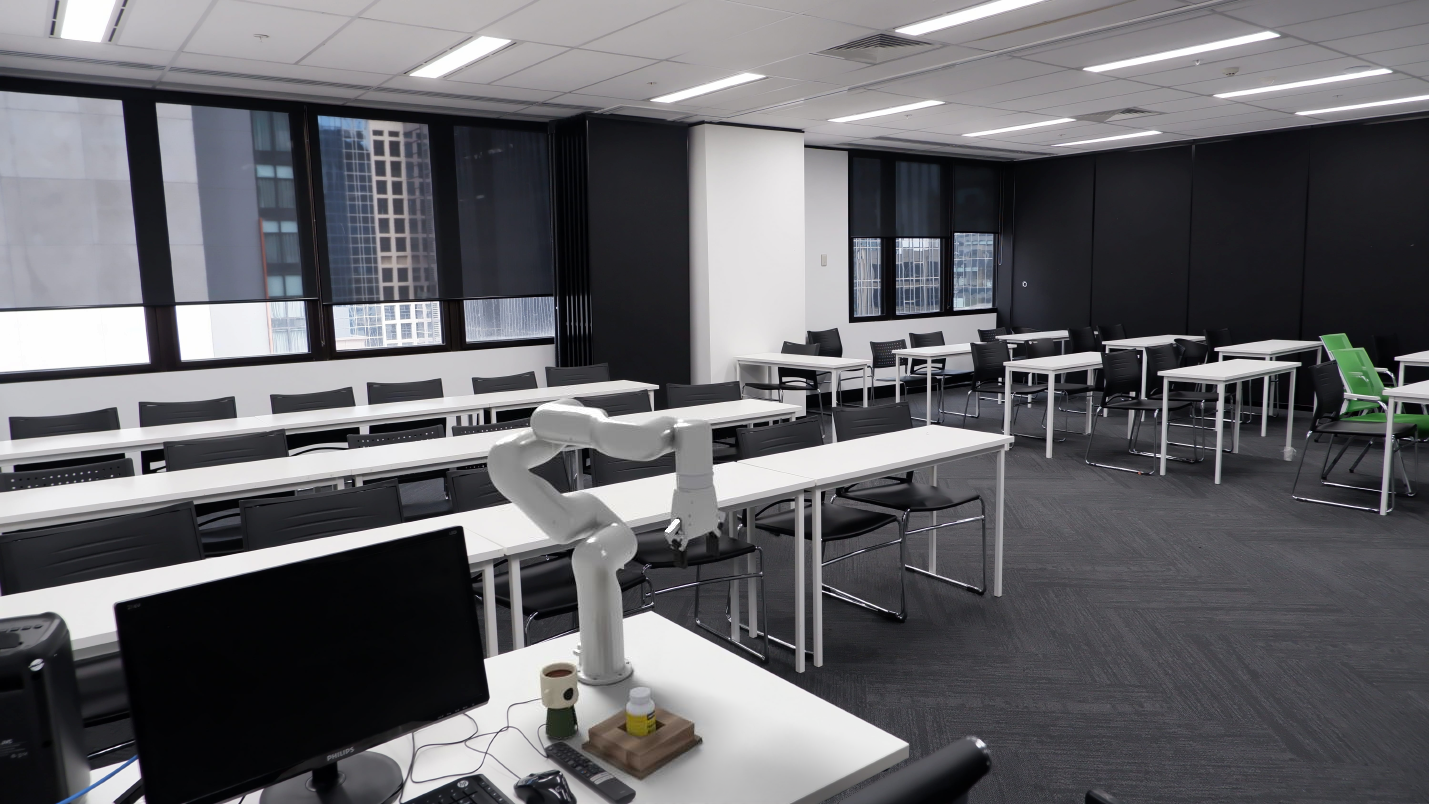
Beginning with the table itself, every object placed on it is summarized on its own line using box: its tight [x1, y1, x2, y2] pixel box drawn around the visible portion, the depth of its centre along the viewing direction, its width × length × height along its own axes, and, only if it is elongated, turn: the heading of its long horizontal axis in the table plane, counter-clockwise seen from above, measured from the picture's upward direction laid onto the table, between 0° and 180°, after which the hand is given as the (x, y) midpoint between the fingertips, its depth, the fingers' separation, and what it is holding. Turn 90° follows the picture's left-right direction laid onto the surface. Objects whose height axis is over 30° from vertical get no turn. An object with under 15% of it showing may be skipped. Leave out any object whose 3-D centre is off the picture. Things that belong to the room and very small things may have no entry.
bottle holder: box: [581, 705, 703, 781], centre depth 161 cm, size 16×16×4 cm
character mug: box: [539, 661, 580, 740], centre depth 165 cm, size 11×7×13 cm, turn 162°
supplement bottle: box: [625, 686, 656, 739], centre depth 160 cm, size 5×5×10 cm
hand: (697, 560), depth 178 cm, fingers open, 9 cm apart
